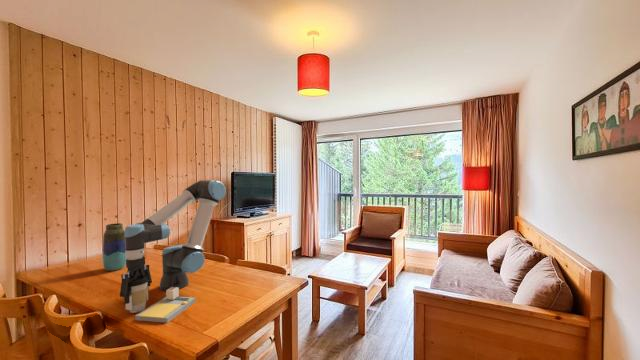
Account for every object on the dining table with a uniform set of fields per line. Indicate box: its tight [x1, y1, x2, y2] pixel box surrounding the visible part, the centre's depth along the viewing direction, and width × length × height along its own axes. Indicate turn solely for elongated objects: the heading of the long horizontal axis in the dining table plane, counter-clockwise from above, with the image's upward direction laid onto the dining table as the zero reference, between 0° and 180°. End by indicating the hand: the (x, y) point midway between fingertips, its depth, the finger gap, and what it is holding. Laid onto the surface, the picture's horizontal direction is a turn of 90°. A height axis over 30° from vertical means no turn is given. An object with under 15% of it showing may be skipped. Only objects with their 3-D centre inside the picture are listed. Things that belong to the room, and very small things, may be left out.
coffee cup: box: [127, 275, 149, 314], centre depth 129 cm, size 10×10×15 cm
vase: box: [101, 222, 127, 272], centre depth 189 cm, size 14×14×31 cm
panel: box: [134, 296, 197, 324], centre depth 129 cm, size 16×20×2 cm
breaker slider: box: [165, 287, 180, 300], centre depth 137 cm, size 4×4×5 cm
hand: (137, 304), depth 129 cm, fingers closed on coffee cup, 9 cm apart
